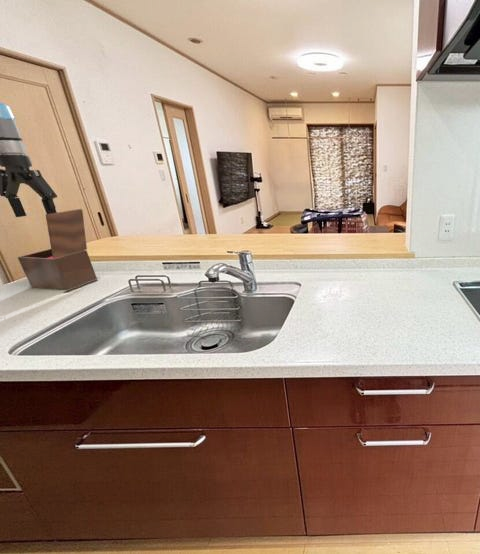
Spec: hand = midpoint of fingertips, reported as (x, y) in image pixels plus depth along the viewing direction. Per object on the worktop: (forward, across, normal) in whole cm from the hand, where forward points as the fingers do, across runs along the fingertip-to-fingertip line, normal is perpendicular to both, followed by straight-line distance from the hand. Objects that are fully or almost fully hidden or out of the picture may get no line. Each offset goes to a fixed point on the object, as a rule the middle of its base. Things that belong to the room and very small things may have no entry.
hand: (37, 217), depth 108 cm
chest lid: (+5, -10, 0) cm, 11 cm away
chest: (+27, 0, 0) cm, 27 cm away
